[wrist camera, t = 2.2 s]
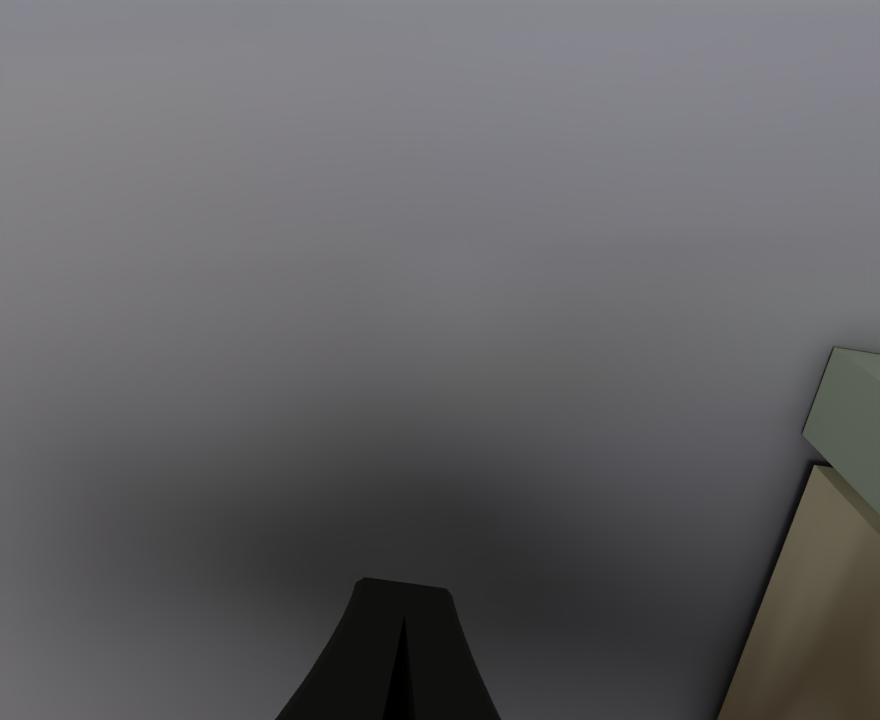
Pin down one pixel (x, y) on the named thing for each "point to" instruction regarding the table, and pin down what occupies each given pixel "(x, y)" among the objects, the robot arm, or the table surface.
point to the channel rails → (850, 420)
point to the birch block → (817, 616)
